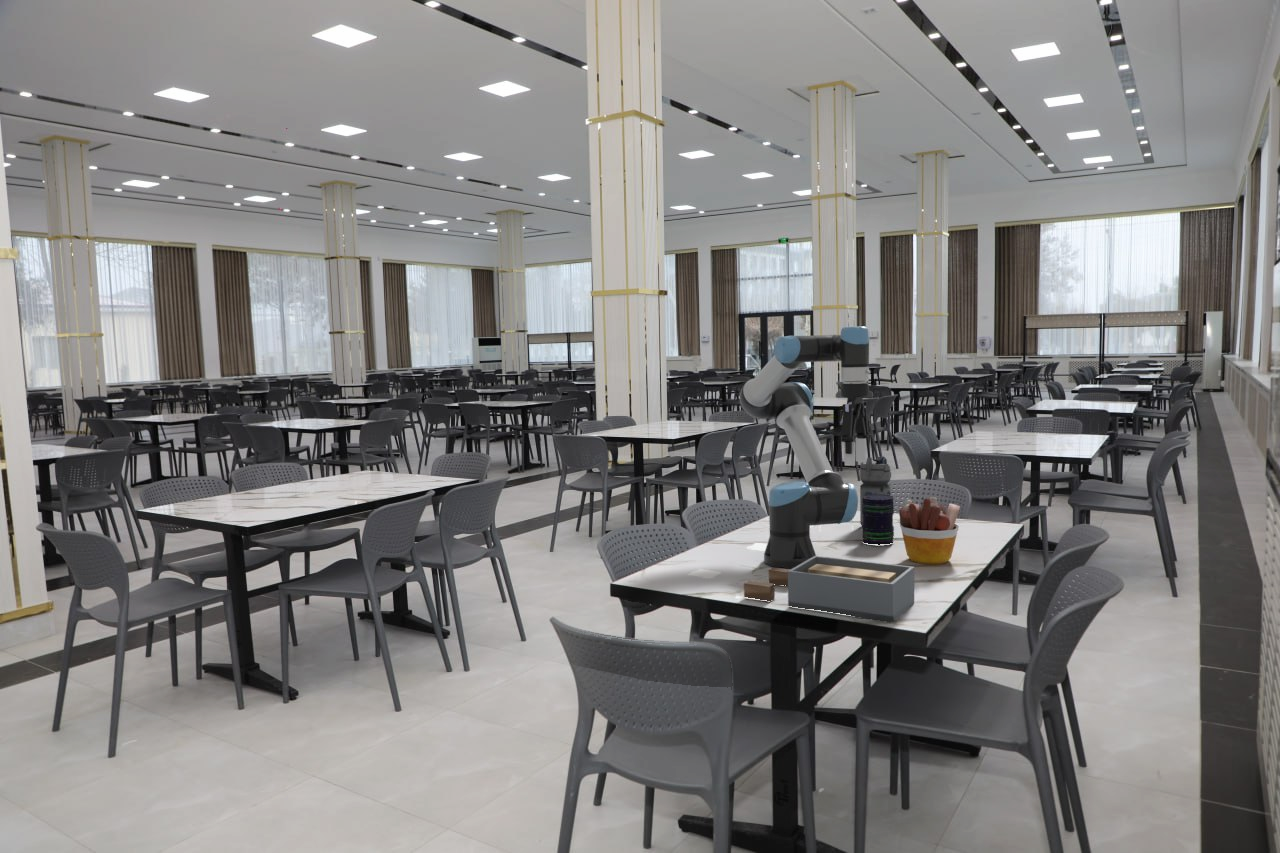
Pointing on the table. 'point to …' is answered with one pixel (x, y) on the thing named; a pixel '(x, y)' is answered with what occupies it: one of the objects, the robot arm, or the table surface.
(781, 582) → the wooden blocks
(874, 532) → the storage jar
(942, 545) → the bucket of meat
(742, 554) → the table surface
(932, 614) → the table surface
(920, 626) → the table surface
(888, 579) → the shelf board
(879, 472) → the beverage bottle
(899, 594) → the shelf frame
